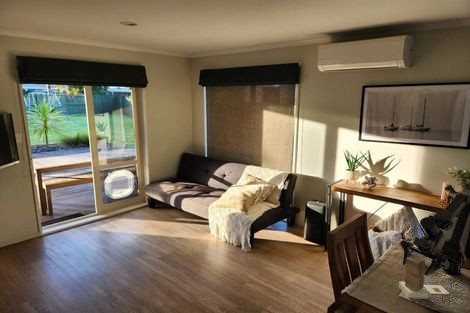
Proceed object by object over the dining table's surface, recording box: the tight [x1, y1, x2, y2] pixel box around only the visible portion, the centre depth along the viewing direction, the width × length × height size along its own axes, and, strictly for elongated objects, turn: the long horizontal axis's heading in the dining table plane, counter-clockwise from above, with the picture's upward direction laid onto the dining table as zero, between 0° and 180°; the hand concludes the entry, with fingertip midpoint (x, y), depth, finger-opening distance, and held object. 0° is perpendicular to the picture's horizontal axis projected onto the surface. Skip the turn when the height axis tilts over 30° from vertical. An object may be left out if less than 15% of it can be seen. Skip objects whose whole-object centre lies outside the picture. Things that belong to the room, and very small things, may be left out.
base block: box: [398, 280, 429, 300], centre depth 130 cm, size 8×8×3 cm
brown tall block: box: [404, 255, 426, 292], centre depth 128 cm, size 5×5×13 cm
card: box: [423, 284, 450, 295], centre depth 131 cm, size 8×6×1 cm
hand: (413, 269), depth 127 cm, fingers open, 9 cm apart
